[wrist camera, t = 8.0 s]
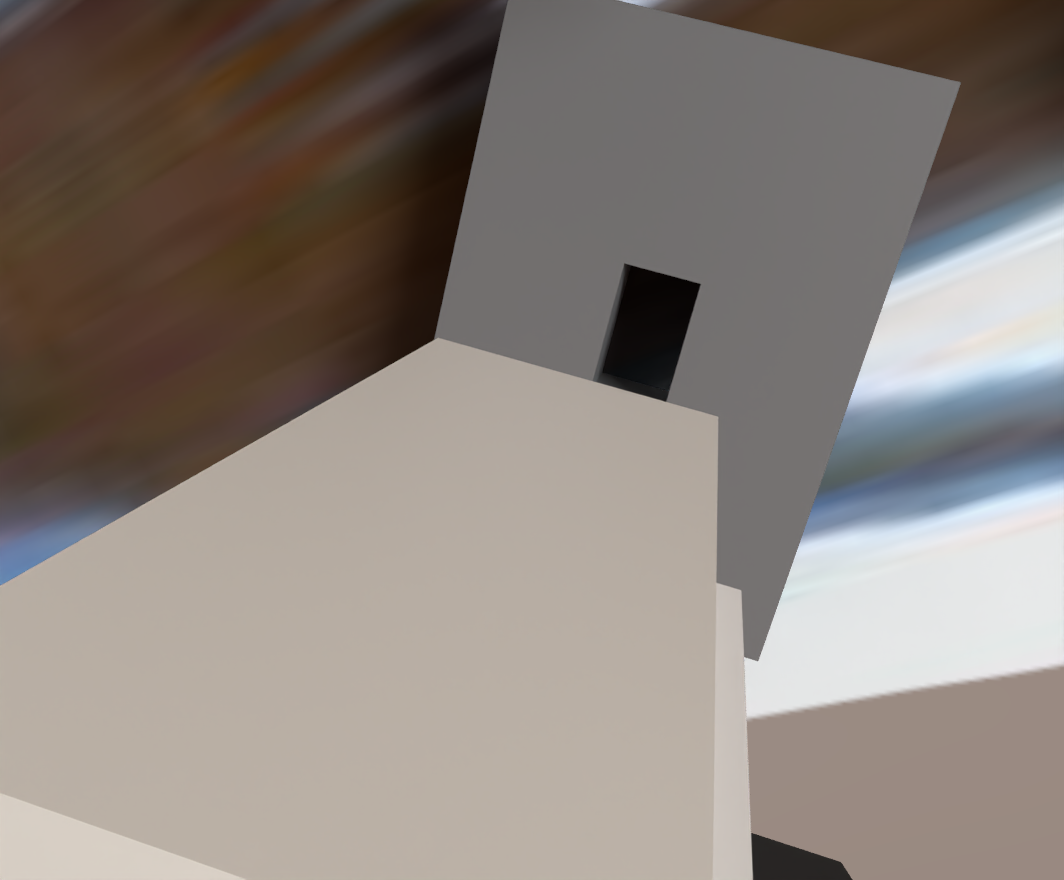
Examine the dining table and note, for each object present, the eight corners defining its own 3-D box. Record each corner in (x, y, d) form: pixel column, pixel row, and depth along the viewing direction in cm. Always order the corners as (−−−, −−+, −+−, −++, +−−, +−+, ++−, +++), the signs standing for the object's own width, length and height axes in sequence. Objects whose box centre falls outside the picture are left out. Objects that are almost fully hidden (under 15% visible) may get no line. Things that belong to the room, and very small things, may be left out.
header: (535, -4, 35) (513, -25, 31) (933, 92, 34) (960, 82, 30) (419, 512, 41) (388, 547, 37) (754, 614, 40) (757, 661, 36)
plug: (501, 301, 16) (-227, 714, 4) (719, 361, 15) (709, 1039, 3) (422, 635, 17) (-246, 1663, 5) (616, 696, 17) (365, 1953, 5)
